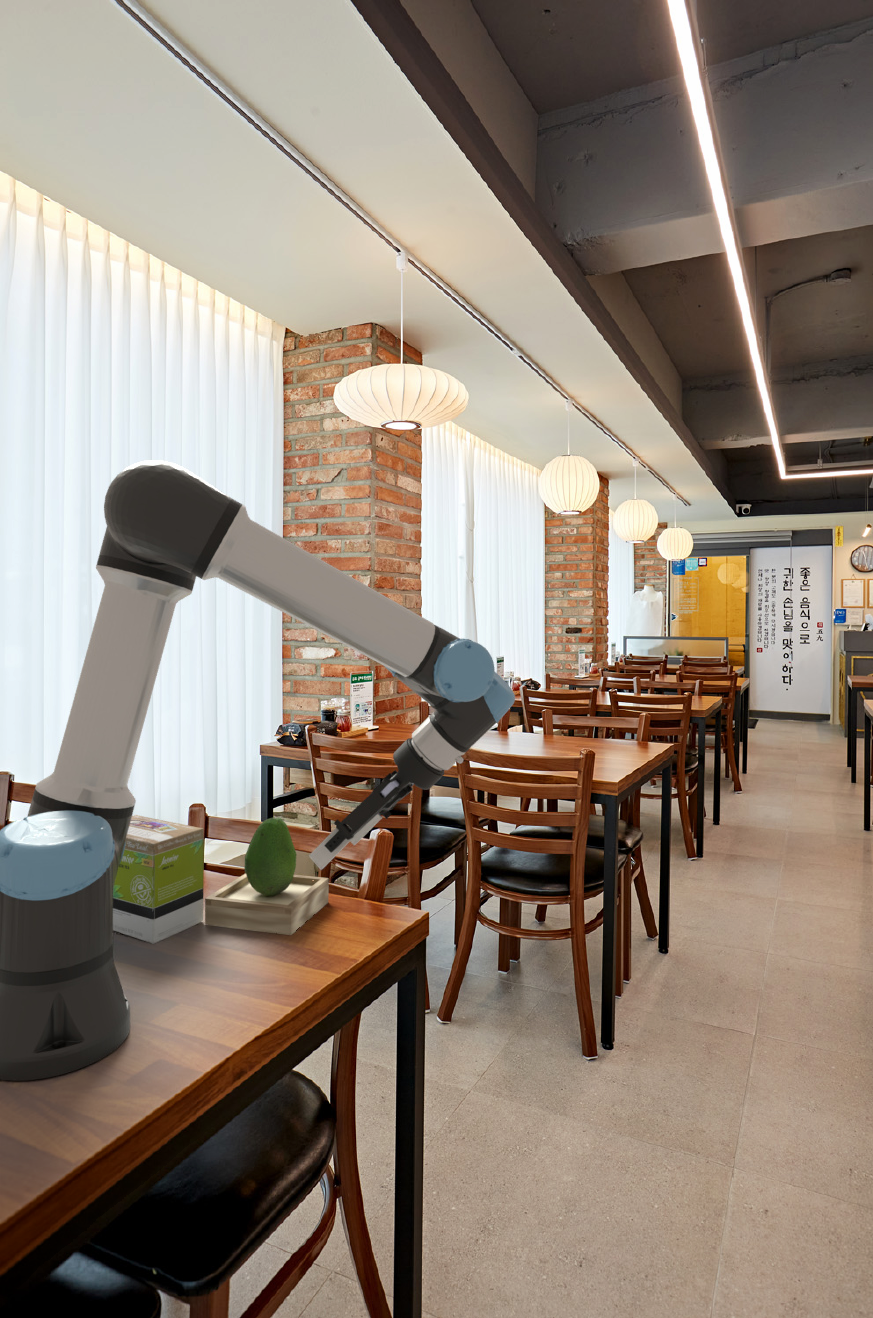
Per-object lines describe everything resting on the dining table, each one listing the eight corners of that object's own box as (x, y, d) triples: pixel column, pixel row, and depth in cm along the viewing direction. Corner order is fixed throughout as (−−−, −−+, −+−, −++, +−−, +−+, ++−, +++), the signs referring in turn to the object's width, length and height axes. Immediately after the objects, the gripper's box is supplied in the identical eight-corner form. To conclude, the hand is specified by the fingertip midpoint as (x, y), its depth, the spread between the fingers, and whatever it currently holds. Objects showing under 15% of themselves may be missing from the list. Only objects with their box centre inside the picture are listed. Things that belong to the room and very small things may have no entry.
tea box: (81, 925, 113) (81, 826, 113) (136, 904, 122) (136, 812, 122) (153, 945, 106) (153, 841, 106) (206, 922, 115) (206, 825, 115)
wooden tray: (291, 935, 110) (291, 907, 110) (205, 924, 114) (205, 898, 114) (328, 902, 124) (328, 878, 124) (250, 893, 127) (250, 870, 127)
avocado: (302, 887, 122) (303, 813, 122) (286, 904, 114) (286, 825, 114) (255, 884, 123) (255, 810, 123) (235, 901, 115) (236, 822, 115)
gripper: (423, 788, 99) (317, 894, 103) (463, 760, 123) (376, 846, 127) (384, 746, 100) (281, 853, 104) (431, 726, 124) (346, 813, 128)
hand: (333, 849), depth 116 cm, fingers open, 13 cm apart
